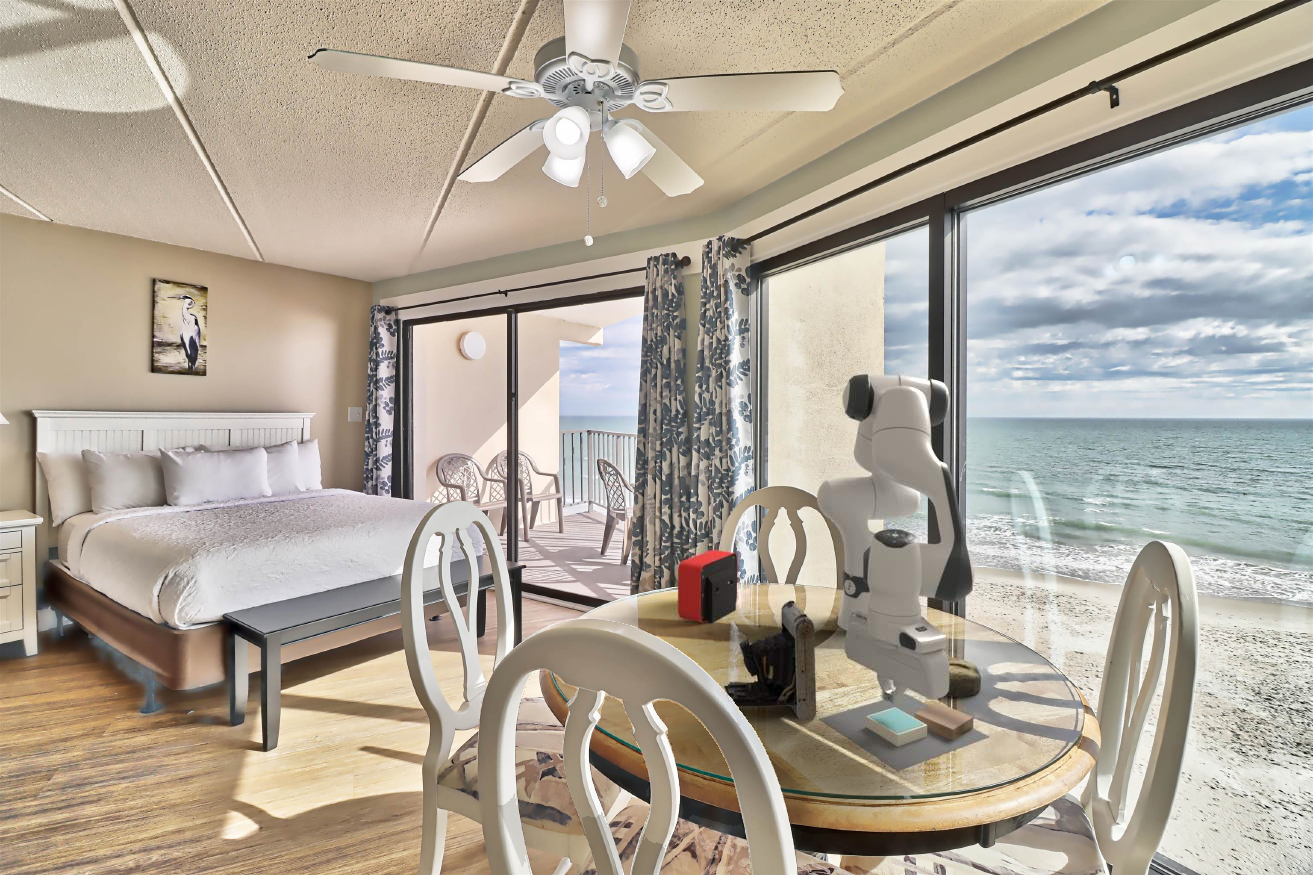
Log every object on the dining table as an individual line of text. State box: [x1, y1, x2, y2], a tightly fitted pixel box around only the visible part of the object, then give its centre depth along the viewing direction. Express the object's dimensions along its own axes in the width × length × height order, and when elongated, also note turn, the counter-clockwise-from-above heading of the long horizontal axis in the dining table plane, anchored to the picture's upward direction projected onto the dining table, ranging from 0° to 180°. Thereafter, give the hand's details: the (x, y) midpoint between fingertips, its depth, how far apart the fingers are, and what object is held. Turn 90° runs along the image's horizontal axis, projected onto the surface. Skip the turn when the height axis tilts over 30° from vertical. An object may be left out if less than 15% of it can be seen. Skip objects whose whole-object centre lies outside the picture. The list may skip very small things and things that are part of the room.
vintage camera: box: [723, 600, 817, 721], centre depth 116 cm, size 10×16×20 cm, turn 95°
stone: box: [945, 655, 982, 698], centre depth 128 cm, size 13×13×5 cm
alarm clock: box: [677, 549, 738, 624], centre depth 171 cm, size 10×20×16 cm, turn 144°
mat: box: [819, 692, 990, 772], centre depth 110 cm, size 22×18×1 cm
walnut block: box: [915, 701, 975, 741], centre depth 111 cm, size 7×7×2 cm
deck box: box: [866, 708, 927, 746], centre depth 109 cm, size 7×2×7 cm
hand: (891, 702), depth 109 cm, fingers closed
